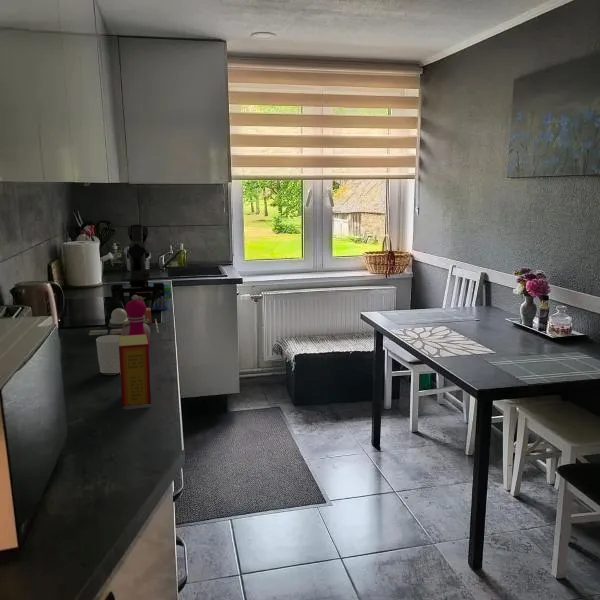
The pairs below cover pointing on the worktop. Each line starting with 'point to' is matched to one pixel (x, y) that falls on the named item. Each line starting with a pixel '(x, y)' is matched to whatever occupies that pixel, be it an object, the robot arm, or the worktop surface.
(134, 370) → the baking soda box
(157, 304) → the snack cup
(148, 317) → the die
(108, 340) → the white cup
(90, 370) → the worktop surface
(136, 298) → the pepper mill
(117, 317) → the dome
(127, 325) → the decorative fruit
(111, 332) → the game board
